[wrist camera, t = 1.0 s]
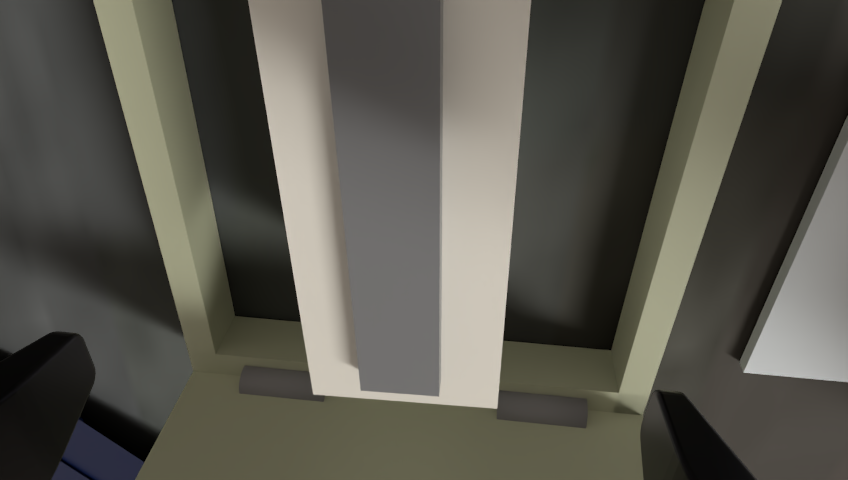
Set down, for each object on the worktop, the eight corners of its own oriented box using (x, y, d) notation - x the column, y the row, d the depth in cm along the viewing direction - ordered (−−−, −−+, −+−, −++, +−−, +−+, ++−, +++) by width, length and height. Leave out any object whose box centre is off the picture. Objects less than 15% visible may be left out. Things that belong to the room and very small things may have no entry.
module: (529, -136, 15) (540, -92, 10) (499, 269, 22) (496, 426, 17) (319, -136, 15) (218, -94, 10) (355, 261, 22) (307, 412, 17)
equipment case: (858, -365, 12) (1267, -541, 6) (626, 393, 24) (669, 614, 18) (50, -372, 13) (-389, -522, 7) (219, 354, 26) (120, 548, 19)
